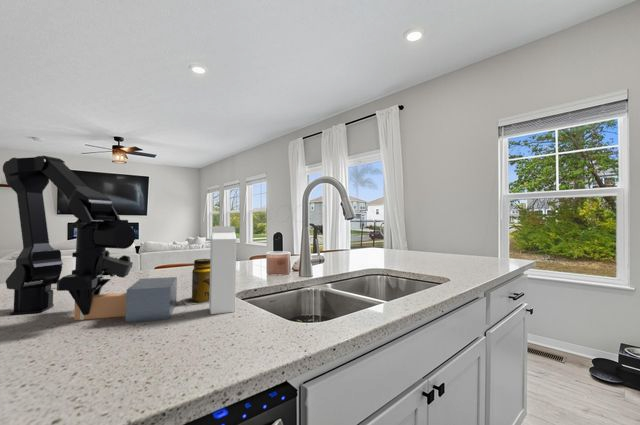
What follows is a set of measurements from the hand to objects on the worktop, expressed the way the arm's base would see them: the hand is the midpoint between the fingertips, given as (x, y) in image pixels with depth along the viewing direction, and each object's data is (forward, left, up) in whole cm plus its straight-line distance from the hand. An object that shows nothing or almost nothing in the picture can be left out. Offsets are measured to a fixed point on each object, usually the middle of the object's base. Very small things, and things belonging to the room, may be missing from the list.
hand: (88, 312), depth 73 cm
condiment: (+24, +9, -2) cm, 26 cm away
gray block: (+14, 0, -1) cm, 14 cm away
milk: (+30, -3, -1) cm, 31 cm away
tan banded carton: (+5, 0, -1) cm, 5 cm away
